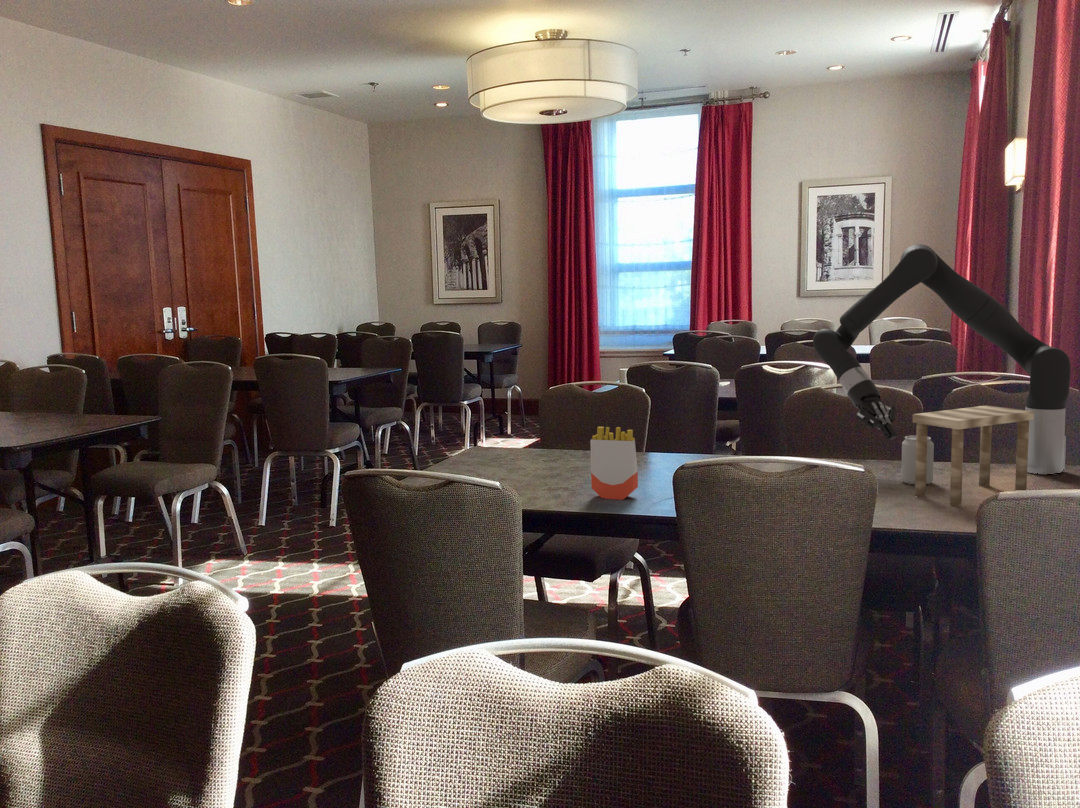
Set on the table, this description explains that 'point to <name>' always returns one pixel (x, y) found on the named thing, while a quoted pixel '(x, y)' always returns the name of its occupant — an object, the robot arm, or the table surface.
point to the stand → (958, 423)
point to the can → (910, 460)
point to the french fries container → (613, 464)
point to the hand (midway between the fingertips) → (892, 438)
